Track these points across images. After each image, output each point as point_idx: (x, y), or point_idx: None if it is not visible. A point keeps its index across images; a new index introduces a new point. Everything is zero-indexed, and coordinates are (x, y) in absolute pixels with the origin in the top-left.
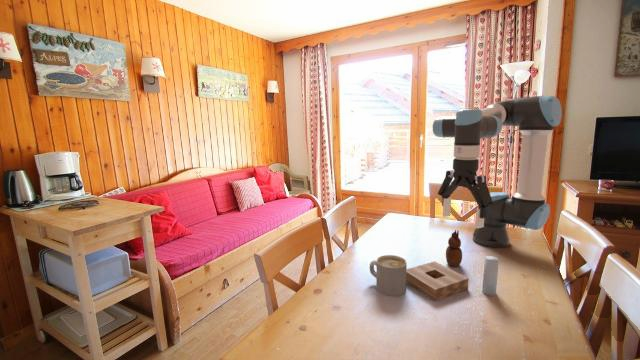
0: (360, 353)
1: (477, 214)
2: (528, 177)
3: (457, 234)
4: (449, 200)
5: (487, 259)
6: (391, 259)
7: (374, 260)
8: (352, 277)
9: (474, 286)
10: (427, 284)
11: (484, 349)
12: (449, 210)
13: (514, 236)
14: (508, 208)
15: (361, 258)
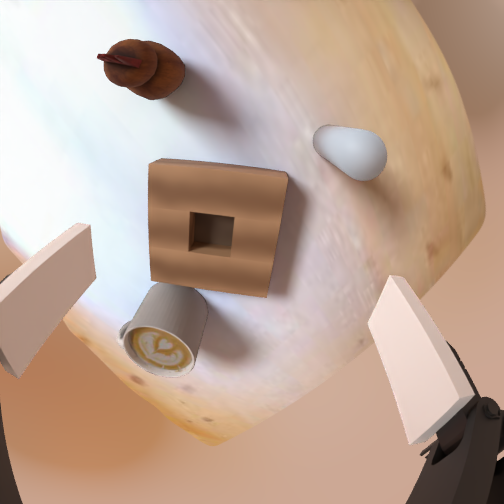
0: (280, 409)
1: (403, 398)
2: None
3: (126, 61)
4: (7, 319)
5: (356, 176)
6: (137, 332)
7: (121, 346)
8: (112, 327)
9: (287, 141)
10: (238, 292)
11: None
12: (64, 257)
13: None
14: None
15: None
